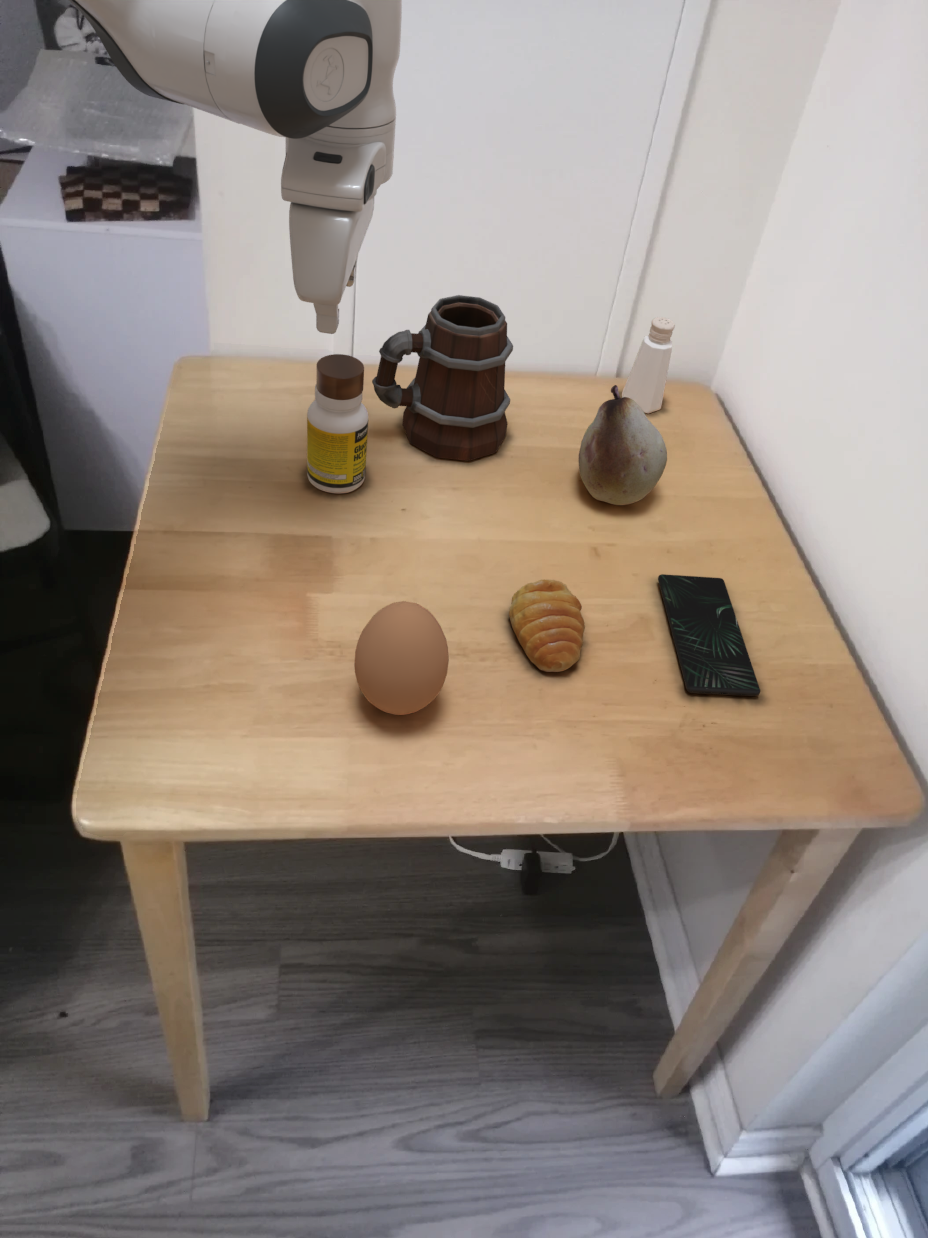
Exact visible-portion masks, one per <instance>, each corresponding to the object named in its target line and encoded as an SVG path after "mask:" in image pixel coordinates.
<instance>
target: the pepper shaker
mask: <svg viewBox="0 0 928 1238" xmlns="http://www.w3.org/2000/svg"><path fill="white" fill-rule="evenodd" d="M650 323H651V324H650V325H651V326H650V329H649V333H648V335H645V336H643V339H642V341H641V343H640V346H639V349H638V351H637V353H636V356H635V359H634V361H633V364H632V366H631V369H630V371H629V374H628V377H627V379H626V382H625V384H624V387H623V389H622V392H621V398H623V397H628V398H630V399H632V400H634V401H635V402H636V403H637V404H638V405H639V406H640V407H641V409H642V410H643V412H644V414H651V413H654V412H657V411H661V409H662V405H663V401H664V400H663V399H664V394H665V390H666V389H665V388H666V383H667V378H668V373H669V368H670V362H671V357H672V352H673V351H672V350H673V341H672V339H671V337H672V335H673V331H674V330H675V327H676V323H675V322H674V321H673V320H671V319H670V318H667V317H663V316H659V317H658V316H657V317H654V318H653V319H652V320H651V321H650Z"/></svg>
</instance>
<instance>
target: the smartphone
mask: <svg viewBox="0 0 928 1238" xmlns="http://www.w3.org/2000/svg"><path fill="white" fill-rule="evenodd" d="M657 583H658V586H659V589H660V590H659V591H660V593H661V598H662V601H663V605H664V608H665V613H666V616H667V620H668V625H669V627H670V632H671V635H672V639H673V644H674V647H675V652H676V654H677V659H678V662H679V666H680V670H681V673H682V677H683V682H684V685H685V690H686V691H687V693H689V694H703V695H704V694H706V695H727V696H746V697H757V696H759V695H760V694H761V689H760V686H759V685H760V684H759V682H758V679H757V676H756V673H755V671H754V668H753V667H754V666H753V664H752V661H751V658H750V654H749V652H748V649H747V646H746V643H745V640H744V637H743V634H742V630H741V628H740V625H739V622H738V618H737V615H736V613H735V610H734V607H733V603H732V600H731V598H730V594H729V591H728V589H727V586H726V583H725V580H724V579H723V578H721V577H713V576H712V577H711V576H695V575H694V576H693V575H679V574H666V573H665V574H663V573H661V574H659V575H658V577H657Z"/></svg>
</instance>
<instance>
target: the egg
mask: <svg viewBox="0 0 928 1238" xmlns="http://www.w3.org/2000/svg"><path fill="white" fill-rule="evenodd" d="M449 657H450V655H449V646H448V642H447V638H446V635H445V633H444V631H443V628H442V627H441V625H440V622H439V621H438V619H437V618H436V617H435V616H434V615H433V613H431V611H429V609H427V608H426V607H424V606H422V605H421V604H419V603H417V602H414V601H413V602H412V601H406V600H402V601H401V600H400V601H396V602H395V601H394V602H392V603H389V604H387V605H385V606H384V607H382V608H380V609H379V610H378V611H377V612H376V613H374V614H373V616H371V618H370V619H369V620H368V622H367V623H366V625H365V626H364V628H363V629H362V631H361V632H360V635H359V636H358V640H357V643H356V647H355V652H354V664H353V665H354V674H355V678H356V679H355V680H356V683H357V685H358V687H359V689H360V692H361V693H362V695H364V697H365V699H366V700H367V701H368V702H369V703H370V704H371V705H372V706H374V707H375V708H377V709H378V710H380V711H382V712H385V713H387V714H390V715H395V716H399V715H400V716H401V715H411V714H414V713H416V712H417V713H418V712H419V711H421V710H422V709H424V708H426V707H427V706H428V705H429V704H430V703H431V702H433V701H434V700H435V698H436V697H437V696H438V695H439V694H440V692H441V690H442V689H443V687H444V685H445V681H446V678H447V675H448V670H449V669H448V668H449V663H450V660H449V659H450V658H449Z"/></svg>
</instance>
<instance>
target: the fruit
mask: <svg viewBox="0 0 928 1238" xmlns="http://www.w3.org/2000/svg"><path fill="white" fill-rule="evenodd" d="M610 393H612V396H613V398H612V399H608V400H606V401H604V402H603V403H602V404H600V406H599V407H598V409H597V412H596V415H595V417H594V419H593V421H592V423H590V424H589V425H588V426H587V428H586V430H585V432H584V434H583V437H582V439H581V443H580V447H579V452H578V471H579V476H580V479H581V481H582V484H583V485H584V486H585V489H586V490H587V491H588V493H589V494H590V495H591V496H592V498H594V499H595V500H597V501H601V502H605V503H608V504H609V505H610V504H611V505H614V506H626V505H631V504H635V503H637V502H639V501H641V500H643V499H644V498H646V497H647V496H648V495H649V494H650V493H651V492H652V490H653V489H654V487H655V486H656V485H657V484H658V482H659V481H660V480H661V478H662V476H663V473H664V471H665V469H666V466H667V462H668V449H667V446H666V442H665V440H664V437H663V436H662V433H661V432H660V430H659V429H658V428H657V427H656V426H655V425H654V424H653V423H652V422H651V420H649V418H648V417H647V416H646V413H644V412H643V410H642V409H641V407H640V406H639V405H638V404H637V403H636V402H635V401H634V400H632V399H630V398H628V397H623V398H622V396H620V392H619V386H618V385H616V384H615V385H613V386H612V387H611V388H610Z"/></svg>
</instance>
